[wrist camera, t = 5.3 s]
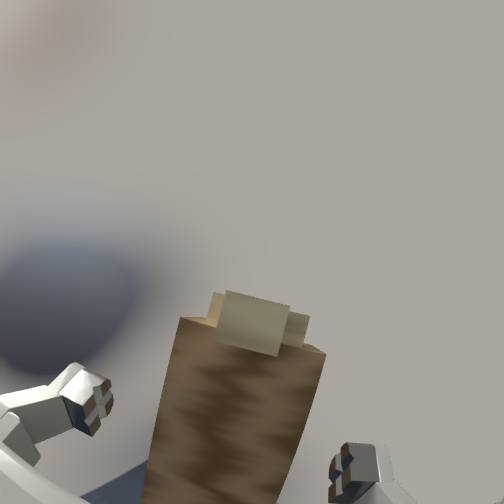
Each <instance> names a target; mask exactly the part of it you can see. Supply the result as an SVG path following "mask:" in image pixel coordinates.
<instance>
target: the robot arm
mask: <svg viewBox="0 0 504 504" xmlns="http://www.w3.org/2000/svg"><path fill="white" fill-rule="evenodd" d="M110 388H111V381H110V380H109V379H107V378H105V377H103V376H101V375H99V374H97V373H95V372H93V371H91V370H89V369H87V368H85V367H84V366H82V365H80V364H78V363H76V362H75V363H72V364H70V365H69V366H68V367H67V368H66V369H65V370H64V371H63V372H62V373H61V374H60V375H59V376H58V377H57V378H56V379H55V380H54V381H53V382H52V383H51V384H50V385H49V386H46V385H43V386H39V387H35V388H31V389H27V390H23V391H18V392H14V393H9V394H4V395H0V504H90V503H89V502H87V501H85V500H83V499H82V498H80V497H78V496H76V495H75V494H73V493H71V492H70V491H68V490H66V489H65V488H63V487H62V486H60V485H58V484H57V483H55V482H54V481H52V480H51V479H49V478H48V477H46V476H45V475H44V474H42V473H41V472H39V471H38V470H37V469H35V468H34V466H35V465H36V463H37V462H38V461H39V459H40V454H39V452H38V450H37V448H36V447H35V445H34V444H36V443H39V442H41V441H44V440H46V439H49V438H51V437H54V436H56V435H58V434H61V433H63V432H65V431H68V430H70V429H72V428H73V427H74V428H76V429H78V430H80V431H82V432H84V433H85V434H87V435H89V436H91V437H93V435H94V434H95V432H96V431H97V430H98V428H99V427H100V426H101V422H100V419H102V418H105V417H107V416H108V414H109V413H110V411H111V409H112V406H113V400H114V399H113V394H112V393H111V391H110V390H109V389H110ZM329 479H330V480H331V481H332V483H333V484H332V485H331V486H330V487H329V493H328V494H329V495H328V496H329V497H328V503H333V504H418V503H417V502H416V501H415V500H414V499H413V498H412V497H411V496H410V495H409V493H407V491H406V490H405V489H404V488H403V487H402V486H401V485H400V484H399V483H398V482H394V479H393V473H392V467H391V461H390V456H389V450H388V447H387V446H386V445H372V444H360V443H359V444H358V443H345V444H343V446H342V447H341V453H339V454H337V455H335V457H334V458H333V459H332V462H331V464H330V468H329ZM495 504H504V497H503V498H502V500H501V501H500V502H498V503H495Z"/></svg>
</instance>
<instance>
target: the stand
mask: <svg viewBox="0 0 504 504" xmlns="http://www.w3.org/2000/svg"><path fill="white" fill-rule="evenodd" d="M216 328H217V327H216V326H213V325H209V324H206V318H202V317H180V321H179V324H178V328H177V332H176V336H175V340H174V344H173V348H172V352H171V356H170V360H169V365H168V369H167V373H166V377H165V381H164V386H163V390H162V394H161V399H160V403H159V408H158V413H157V417H156V422H155V427H154V432H153V438H152V442H151V447H150V452H149V457H148V463H147V468H146V474H145V479H144V485H143V491H142V497H141V503H140V504H276V502H277V499H278V497H279V494H280V492H281V490H282V487H283V485H284V482H285V480H286V477H287V474H288V472H289V469H290V466H291V464H292V461H293V459H294V456H295V453H296V450H297V448H298V445H299V442H300V439H301V436H302V433H303V430H304V428H305V424H306V421H307V418H308V415H309V412H310V409H311V406H312V402H313V399H314V396H315V393H316V389H317V386H318V383H319V379H320V376H321V372H322V368H323V365H324V361H325V358H326V354H325V353H323V352H322V351H320V350H318V349H317V348H315V347H313V346H312V345H309V344H305V343H303V345H302V348H299V347H295V346H290V345H286V344H282V343H281V344H280V348H279V352H278V355H277V357H276V356H272V355H268V354H264V353H259V352H255V351H252V350H248V349H244V348H240V347H236V346H233V345H229V344H225V343H222V342H218V341H215V340H213V339H214V335H215V331H216Z"/></svg>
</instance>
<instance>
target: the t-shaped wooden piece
mask: <svg viewBox="0 0 504 504" xmlns="http://www.w3.org/2000/svg"><path fill="white" fill-rule="evenodd" d="M289 308H290V306H287V305H283V304H280V303H275V302H271V301H267V300H263V299H259V298H255V297H251V296H247V295H244V294H240V293H236V292H232V291H228V290H226V294H225V295H223V294H219V293H216V292H214V293H213V296H212V300H211V304H210V308H209V312H208V316H207V319H206V324H209V325H213V326H216V327H217V328H216V331H215V335H214V339H213V340H215V341H218V342H222V343H225V344H229V345H233V346H236V347H240V348H244V349H248V350H252V351H255V352H259V353H264V354H268V355H272V356H276V357H277V355H278V352H279V348H280V344H281V343H282V344H286V345H290V346H295V347H299V348H302V345H303V341H304V338H305V333H306V330H307V326H308V321H309V318H310V316H308V315H303V314H299V313H295V312H290V311H289Z"/></svg>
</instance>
